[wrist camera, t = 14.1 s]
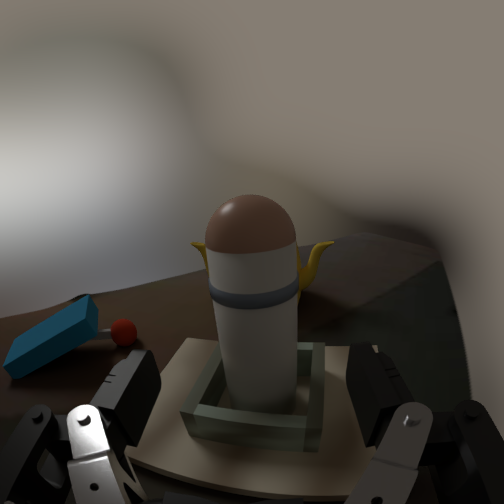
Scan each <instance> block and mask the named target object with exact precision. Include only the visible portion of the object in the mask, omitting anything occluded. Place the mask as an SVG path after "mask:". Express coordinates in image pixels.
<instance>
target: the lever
mask: <svg viewBox="0 0 504 504" xmlns="http://www.w3.org/2000/svg"><path fill="white" fill-rule="evenodd" d="M136 338H137V330H136V327H135V325H134V324H133V323H132V322H131V321H129V320H127V319H119V320H117V321H115V322H114V323H113V324H112V326H111V329H101V330H98V308H97V307H96V305H95V303H94V302H93V300H92V299H91V297H90V295H89V294H88V295H87V296H85V297H83V298H82V299H80V300H78V301H76V302H75V303H73V304H71V305H70V306H68V307H66V308H64V309H63V310H61V311H59V312H58V313H56V314H54V315H53V316H51V317H49V318H48V319H46V320H44V321H43V322H41V323H40V324H38V325H36V326H35V327H33V328H31V329H30V330H28V331H27V332H25V333H23V334H22V335H20V336H19V337H17V338H16V339H15V340H14V342H13V344H12V346H11V348H10V351H9V353H8V355H7V358H6V360H5V362H4V365H3V367H4V368H5V370H6V371H7V372H8V373H9V375H10V376H11V377H12V378H13V379H18V378H22V377H24V376H25V375H27V374H29V373H31V372H33V371H34V370H36V369H38V368H40V367H42V366H43V365H45V364H47V363H49V362H51V361H52V360H54V359H56V358H58V357H60V356H61V355H63V354H65V353H67V352H69V351H70V350H72V349H74V348H76V347H78V346H79V345H81V344H83V343H85V342H87V341H88V340H102V339H113V341H114V342H115V343H116V344H118V345H119V346H129V345H131V344H133V343H134V342H135V340H136Z"/></svg>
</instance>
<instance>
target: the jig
mask: <svg viewBox="0 0 504 504" xmlns="http://www.w3.org/2000/svg"><path fill="white" fill-rule="evenodd" d="M349 347H350V346H325V343H306V342H297V389H296V408H295V411H294V413H293V414H292V415H281V414H268V413H258V412H249V411H241V410H233V409H232V408H231V403H230V398H229V392H228V387H227V382H226V377H225V371H224V365H223V360H222V354H221V348H220V342H219V341H212V340H202V339H194V338H187V339H186V340H185V341H184V343H183V344H182V346H181V347H180V348H179V350H178V351H177V352H176V354H175V355H174V356H173V358H172V359H171V360H170V362H169V363H168V364H167V366H166V367H165V369H164V370H163V371H162V373H161V374H160V376H161V382H162V385H161V391H160V393H159V396H158V398H157V400H156V403H155V405H154V408H153V410H152V412H151V415H150V417H149V420H148V422H147V424H146V427H145V429H144V432H143V434H142V437H141V439H140V442H139V444H138V447H133V446H128V445H127V446H126V448H125V452H126V454H127V456H128V458H129V461H130V462H131V463H133V464H136V465H138V466H140V467H143V468H146V469H148V470H151V471H154V472H156V473H159V474H162V475H165V476H168V477H171V478H174V479H177V480H181V481H184V482H187V483H191V484H195V485H198V486H202V487H206V488H210V489H215V490H219V491H224V492H229V493H234V494H240V495H246V496H253V497H260V498H268V499H292V498H303V501H346V500H347V498H348V497H349V495H350V494H351V492H352V491H353V489H354V488H355V486H356V485H357V483H358V481H359V480H360V478H361V477H362V475H363V473H364V471H365V470H366V468H367V466H368V465H369V463H370V461H371V459H372V458H373V456H374V454H375V453H376V448H375V446H372V447H368V448H366V447H365V444H364V440H363V437H362V434H361V430H360V427H359V424H358V420H357V417H356V414H355V411H354V408H353V404H352V401H351V398H350V395H349V392H348V389H347V385H346V368H347V361H348V354H349ZM372 347H373V349H374V351H375V352H376V353H377V352H378V349H377V345H375V346H372Z"/></svg>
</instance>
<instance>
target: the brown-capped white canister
mask: <svg viewBox="0 0 504 504" xmlns="http://www.w3.org/2000/svg"><path fill="white" fill-rule="evenodd" d="M205 246H206V254H207V262H208V269H209V280H208V282H209V289H210V295H211V298H212V299H213V305H214V311H215V318H216V324H217V330H218V336H219V342H220V348H221V354H222V360H223V365H224V371H225V377H226V382H227V387H228V392H229V398H230V403H231V408H232V409H233V410H241V411H249V412H258V413H268V414H281V415H292V414H293V413H294V411H295V408H296V389H297V325H298V320H297V292H298V290H299V273H298V271H297V254H296V234H295V229H294V225H293V223H292V221H291V219H290V217H289V215H288V214H287V212H286V211H285V210H284V209H283V208H282V207H281V206H280V205H278V204H277V203H276V202H274V201H273V200H271V199H269V198H266V197H263V196H259V195H242V196H238V197H235V198H232V199H230V200H228V201H227V202H225V203H224V204H222V205H221V206H220V207H219V208H218V209H217V210H216V211H215V213H214V214H213V216H212V217H211V219H210V221H209V223H208V226H207V230H206V235H205Z"/></svg>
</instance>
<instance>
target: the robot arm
mask: <svg viewBox="0 0 504 504" xmlns="http://www.w3.org/2000/svg"><path fill="white" fill-rule="evenodd" d="M161 385H162V382H161V376H160V374H159V371H158V368H157V365H156V362H155V359H154V356H153V353H152V352H151V351H150V350H140V349H133V350H132V351H131V353H130V354H129V356H128V357H127V359H126V360H122V361H120V362H119V363H118V364H116V365H115V366H114V367H113V369H112V370H111V372H110V373H109V376H107V378H106V379H105V382H103V384H102V385H101V387H100V388H99V390H98V391H97V393H96V394H95V396H94V398H93V399H92V401H91V402H90V404H89V405H81V406H78V407H76V408H74V409H73V410H72V411H71V412H70V413H69V415H54V414H53V413H52V411H51V410H50V408H49V407H47V406H46V405H36V406H33V407H31V408H30V409H29V410H28V411H27V412H26V414H25V415H24V417H23V418H22V420H21V421H20V423H19V424H18V426H17V427H16V429H15V430H14V432H13V433H12V435H11V436H10V438H9V439H8V441H7V443H6V444H5V446H4V447H3V449H2V451H1V452H0V504H64V503H65V501H66V498H67V496H68V493H69V491H70V488H71V486H72V488H73V492H74V496H75V500H76V503H77V504H220V503H217V502H213V501H210V500H207V499H204V498H201V497H198V496H191V495H184V494H178V493H172V492H167V491H165V494H164V498H159V499H152V500H150V499H149V498H148V496H147V495H146V493H145V492H144V491H143V489H142V487H141V485H140V483H139V481H138V479H137V477H136V475H135V472H134V470H133V468H132V466H131V463H130V461H129V458H128V456H127V454H126V452H125V448H126V446H127V445H128V446H133V447H138V444H139V442H140V439H141V437H142V434H143V432H144V429H145V427H146V424H147V422H148V420H149V417H150V415H151V412H152V410H153V408H154V405H155V403H156V400H157V398H158V396H159V393H160V391H161ZM346 385H347V389H348V392H349V395H350V398H351V401H352V404H353V408H354V411H355V414H356V417H357V420H358V424H359V427H360V430H361V434H362V437H363V440H364V444H365V447H366V448H368V447H372V446H375V448H376V453H375V454H374V456H373V458H372V459H371V461H370V463H369V465H368V466H367V468H366V470H365V471H364V473H363V475H362V477H361V478H360V480H359V481H358V483H357V485H356V486H355V488H354V489H353V491H352V492H351V494H350V495H349V497H348V498H347V500H346V501H345V503H344V504H405V503H406V500H407V498H408V496H409V494H410V492H411V490H412V487H413V485H414V483H415V480H416V478H417V475H418V471H419V470H418V469H417V466H428V467H429V470H430V474H431V477H432V480H433V483H434V487H435V490H436V493H437V497H438V500H439V504H504V440H503V438H502V437H501V435H500V433H499V431H498V430H497V428H496V426H495V424H494V422H493V421H492V419H491V417H490V416H489V414H488V412H487V410H486V409H485V408H484V406H483V405H482V404H481V403H479V402H477V401H474V400H465V401H462V402H460V403H459V404H458V405H457V406H456V408H455V409H454V411H452V412H431V410H430V409H429V408H428V407H427V406H425V405H423V404H421V403H417V402H415V401H414V399H413V397H412V395H411V393H410V391H409V390H408V388H407V386H406V384H405V382H404V380H403V379H402V377H401V376H400V373H399V372H398V370H397V369H396V366H395V365H394V363H393V361H392V359H391V358H390V357H388V356H387V355H386V354H384V353H383V352H377V353H376V352H375V351H374V349H373V347H372V345H371V343H370V342H361V343H354V344H351V345H350V347H349V354H348V361H347V368H346ZM45 448H46V449H47V450H48V451H49V452H50V453H49V455H48V457H47V459H46V461H45V463H44V465H43V467H42V469H41V471H40V473H38V471H37V463H38V461H39V459H40V457H41V455H42V453H43V451H44V449H45ZM249 504H304V503H303V498H292V499H274V500H264V501H260V502H255V503H249Z"/></svg>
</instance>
